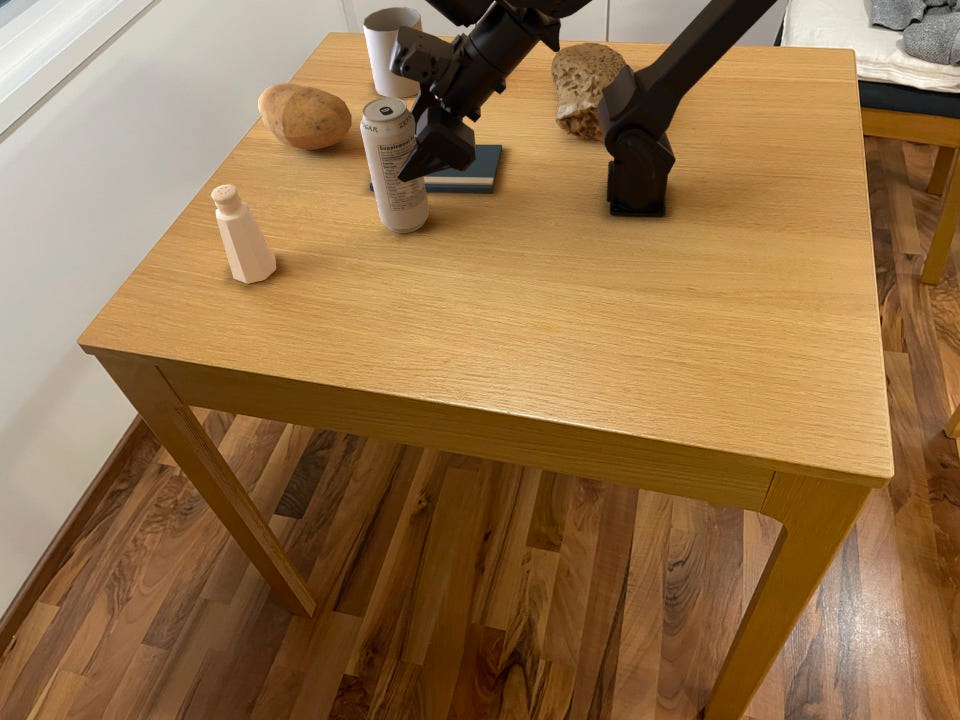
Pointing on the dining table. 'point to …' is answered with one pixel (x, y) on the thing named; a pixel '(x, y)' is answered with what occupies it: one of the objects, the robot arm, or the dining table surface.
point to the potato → (304, 115)
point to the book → (467, 174)
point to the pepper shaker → (242, 237)
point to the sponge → (583, 85)
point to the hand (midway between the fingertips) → (402, 156)
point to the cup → (389, 49)
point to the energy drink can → (393, 164)
